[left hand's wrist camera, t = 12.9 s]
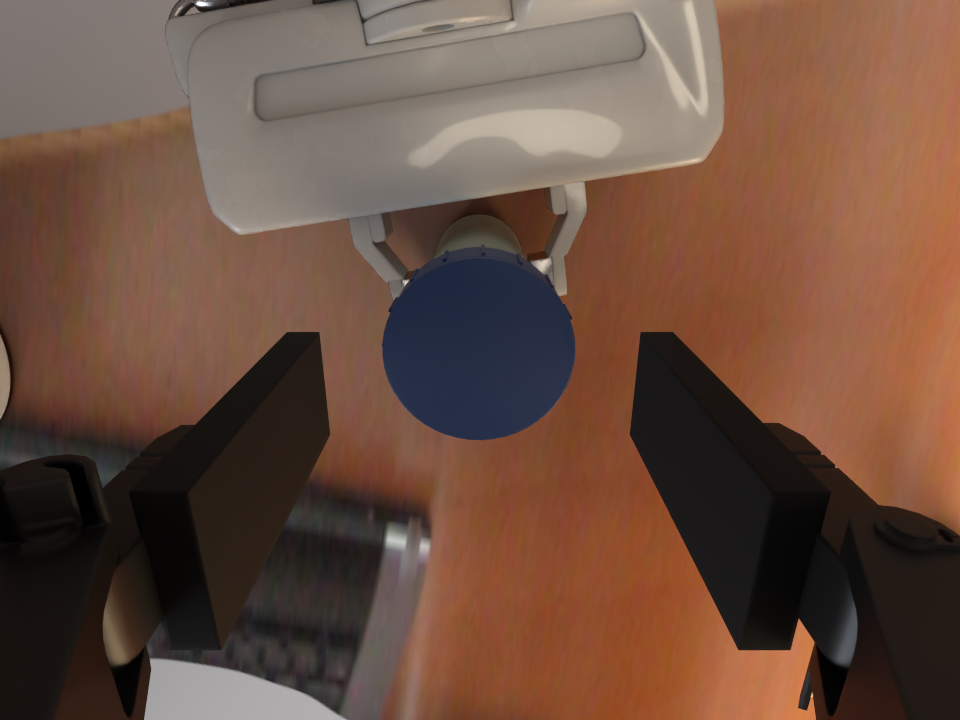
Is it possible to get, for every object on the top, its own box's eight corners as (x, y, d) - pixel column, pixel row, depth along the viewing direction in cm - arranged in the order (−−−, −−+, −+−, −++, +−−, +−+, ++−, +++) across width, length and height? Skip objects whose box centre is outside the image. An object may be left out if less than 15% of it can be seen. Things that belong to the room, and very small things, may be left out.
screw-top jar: (420, 243, 31) (371, 325, 17) (493, 197, 31) (506, 243, 16) (465, 313, 33) (454, 443, 18) (536, 271, 32) (582, 373, 18)
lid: (356, 305, 18) (342, 323, 17) (510, 209, 17) (514, 217, 16) (451, 441, 20) (448, 471, 18) (597, 361, 19) (610, 385, 17)
